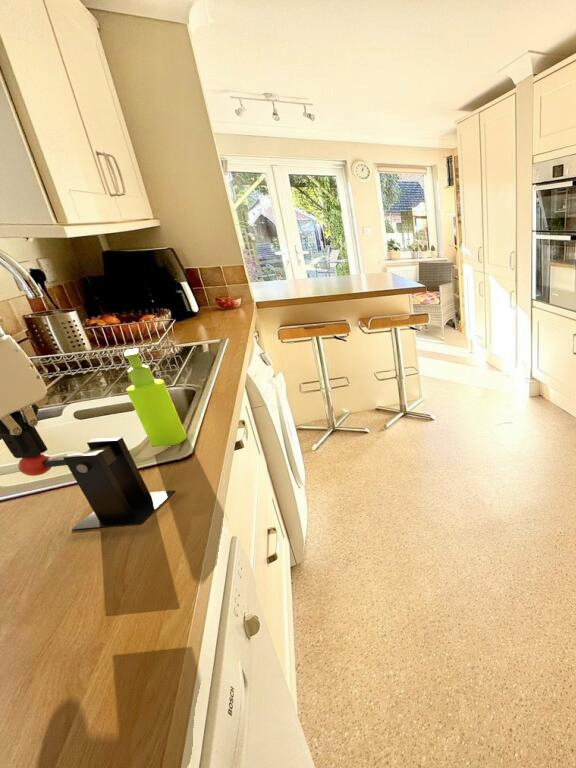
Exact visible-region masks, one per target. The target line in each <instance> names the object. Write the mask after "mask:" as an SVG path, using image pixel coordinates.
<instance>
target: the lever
mask: <svg viewBox="0 0 576 768" xmlns="http://www.w3.org/2000/svg"><path fill="white" fill-rule="evenodd" d="M88 452H101V453H102V455H103V456H104V458H105V460H106V462H107V464H108V465H110V464H111V463H112V462H114V461H115V460H117V459H118V458H117V456H116V454H115V453H114V451H113V449H112V447H111V446H103V447H93V448H89V449H87V450H86V451H84V452H83V453H88ZM65 456H66V455H65ZM65 456H56V457H51V456H50V455H49V454H47V453H45V452H44V453H41V454H40V455H38V456H37V457H27V458H20V460H19V461H18V464H17V468H18V470H19V472H20V473H22V474H23V475H25V476H31V477H35V476H36V477H37V476H41V475H44V474H46V473H48V472H49V471H50V470H51V469H52V468H54V467H64V466H67V464H66V462H65V460H64V459H63V457H65Z"/></svg>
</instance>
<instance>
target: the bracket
mask: <svg viewBox="0 0 576 768" xmlns="http://www.w3.org/2000/svg"><path fill="white" fill-rule="evenodd" d="M86 444H87V446H88V448H89V449H90V448H93V447H103V446H111V447H112V449H113V451H114V453H115V454H116V456H117V458H118V459H117V460H115V461H114V462H112V463H111V464H110V465H108V464H107V462H106V460H105V458H104V456H103V455H102V453H101V452H88V453H84V452H77V453H68V454H67V455H65V457H64V456H62V457H63V459H64V460H65V462H66V464H67V465H66V466H67V467H68V470H69V471H70V473H71V474H72V476H73V478H74V480H75V482H76V483H77V486H78V487H79V488H80V490H81V492H82V493H83V495H84V497H85V499H86V501H87V503H88V504H89V506H90V508H91V509H92V512H91V513H90V514H88V515H87V516H86V517H85V518H84V519H82V520H80V522H79V523H77V525H75V526H73V528H72V529H71V531H72V532H74V531H76V532H77V531H85V530H86V531H87V530H97V529H106V528H119V527H130V526H131V527H133V526H140V525H141V526H142V525H143V524H145V522H146V521H147V520H148V519H149V518H151V516H152V515H153V514H154V513H156V511H158V510H159V508H161V506H162V505H163V504H164V503H166V501H168V500H169V499H170V498H171V496H173V495H174V494H175V493H176V490H175V489H173V490H161V491H149V489H148V487H147V485H146V483H145V481H144V478H143V477H142V474H141V473H140V471H139V469H138V467H137V465H136V462H135V460H134V458H133V456H132V455H131V452H130V450H129V448H128V446H127V444H126V442H125V440H124V438H123V437H122V436H121V437H120V436H119V437H107V438H106V437H105V438H92V439H91V440H89V441H87V442H86Z"/></svg>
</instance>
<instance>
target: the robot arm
mask: <svg viewBox="0 0 576 768" xmlns="http://www.w3.org/2000/svg"><path fill="white" fill-rule="evenodd" d="M4 323H5V322H4V319H3V318H1V317H0V438H1V440H2V441H3V442H4V444H5V446H6V447H7V449H8V450H9V452H10V453H11V454H12V456H13V457H14V458H15V459H22V458H27V457H37V456H38V455H40V454H41V453H45V452H47V451H49V449H48V447H47V445H46V443H45V442H44V441H43V438H42V437H41V435H40V433H39V432H38V430H37V429H36V427H37V426H38V424H39V421H38V418H37V415H38V413H39V410H40V409H42V407H44V406H45V405H46V404H47V403H49V398H48V397H47V394H48V389H47V385H46V383H45V382H44V380H43V378H42V375H41V374H40V373H39V370H38V369H37V368H36V366H35V365H34V364H33V362H32V361H31V359H30V358H29V356H28V354H26V352H25V351H24V350H23V349H22V348H21V346H20V345H19V344H18V343H17V342H16V340H15V339H13V338H12V336H10V335H8V334H6V333H5V331H4V330H3V328H2V326H3V325H4Z"/></svg>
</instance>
